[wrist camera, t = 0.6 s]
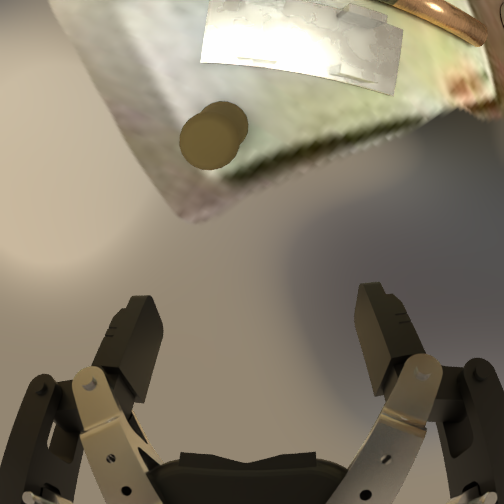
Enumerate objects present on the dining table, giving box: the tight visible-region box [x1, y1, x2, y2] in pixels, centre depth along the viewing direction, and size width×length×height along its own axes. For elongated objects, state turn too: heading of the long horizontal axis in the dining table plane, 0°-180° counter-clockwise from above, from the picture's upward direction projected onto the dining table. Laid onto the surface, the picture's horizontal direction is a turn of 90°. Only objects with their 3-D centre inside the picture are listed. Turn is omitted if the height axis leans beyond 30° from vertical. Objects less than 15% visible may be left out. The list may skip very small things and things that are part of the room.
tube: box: [378, 0, 488, 47], centre depth 20 cm, size 16×4×4 cm, turn 83°
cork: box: [180, 101, 248, 170], centre depth 27 cm, size 6×6×11 cm
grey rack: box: [201, 0, 403, 96], centre depth 24 cm, size 9×22×6 cm, turn 83°
